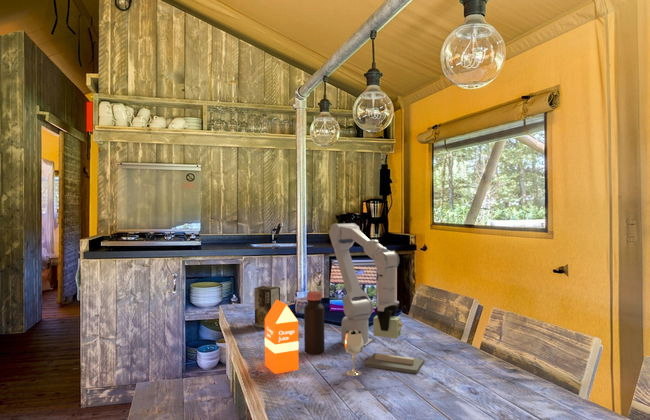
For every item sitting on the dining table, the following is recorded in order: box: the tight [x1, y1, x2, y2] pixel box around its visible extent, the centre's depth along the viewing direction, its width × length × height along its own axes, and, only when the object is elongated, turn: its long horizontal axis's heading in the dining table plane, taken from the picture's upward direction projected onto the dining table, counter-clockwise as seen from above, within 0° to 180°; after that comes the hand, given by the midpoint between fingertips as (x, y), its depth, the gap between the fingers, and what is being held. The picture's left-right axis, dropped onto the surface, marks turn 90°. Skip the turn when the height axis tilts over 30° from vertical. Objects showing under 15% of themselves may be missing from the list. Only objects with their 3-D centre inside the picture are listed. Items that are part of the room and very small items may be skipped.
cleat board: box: [364, 352, 425, 374], centre depth 137 cm, size 16×10×2 cm, turn 66°
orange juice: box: [264, 299, 299, 375], centre depth 135 cm, size 8×9×20 cm
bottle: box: [303, 290, 325, 356], centre depth 149 cm, size 7×7×20 cm
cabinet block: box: [372, 315, 403, 340], centre depth 147 cm, size 9×5×6 cm, turn 66°
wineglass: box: [343, 330, 364, 377], centre depth 129 cm, size 6×6×12 cm
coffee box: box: [253, 285, 281, 329], centre depth 182 cm, size 9×6×16 cm
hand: (386, 328), depth 147 cm, fingers closed on cabinet block, 5 cm apart
